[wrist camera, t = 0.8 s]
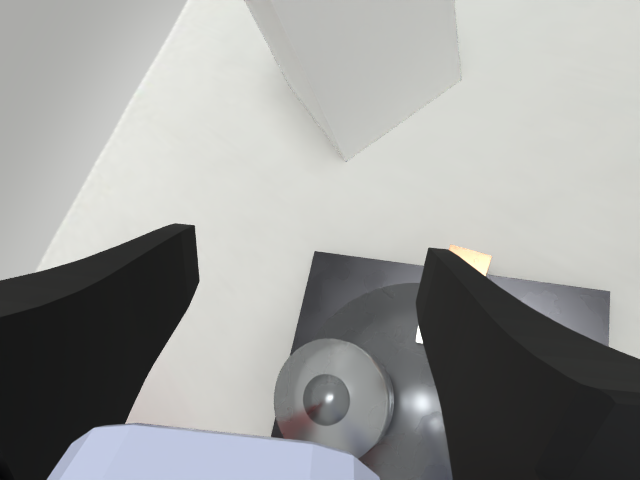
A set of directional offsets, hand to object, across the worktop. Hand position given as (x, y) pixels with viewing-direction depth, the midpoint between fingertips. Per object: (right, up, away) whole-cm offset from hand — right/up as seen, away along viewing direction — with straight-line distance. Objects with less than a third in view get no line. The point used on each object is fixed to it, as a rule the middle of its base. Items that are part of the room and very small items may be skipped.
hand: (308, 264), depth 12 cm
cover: (+2, -10, +13) cm, 17 cm away
